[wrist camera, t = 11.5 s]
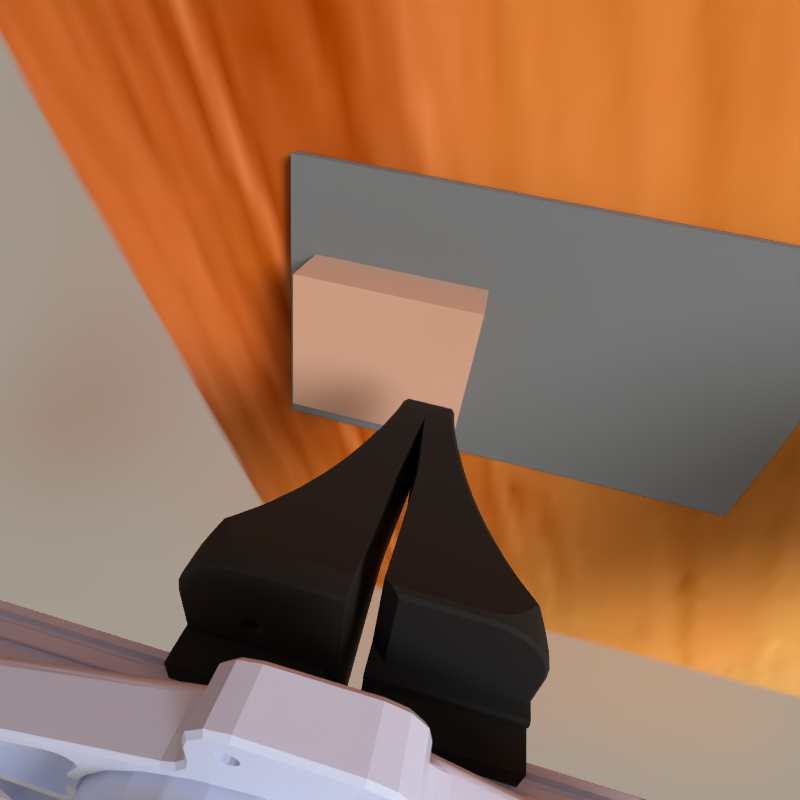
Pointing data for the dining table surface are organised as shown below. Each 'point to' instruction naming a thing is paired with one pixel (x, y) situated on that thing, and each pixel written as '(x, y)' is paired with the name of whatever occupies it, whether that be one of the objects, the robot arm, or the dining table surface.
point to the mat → (584, 327)
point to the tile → (380, 339)
